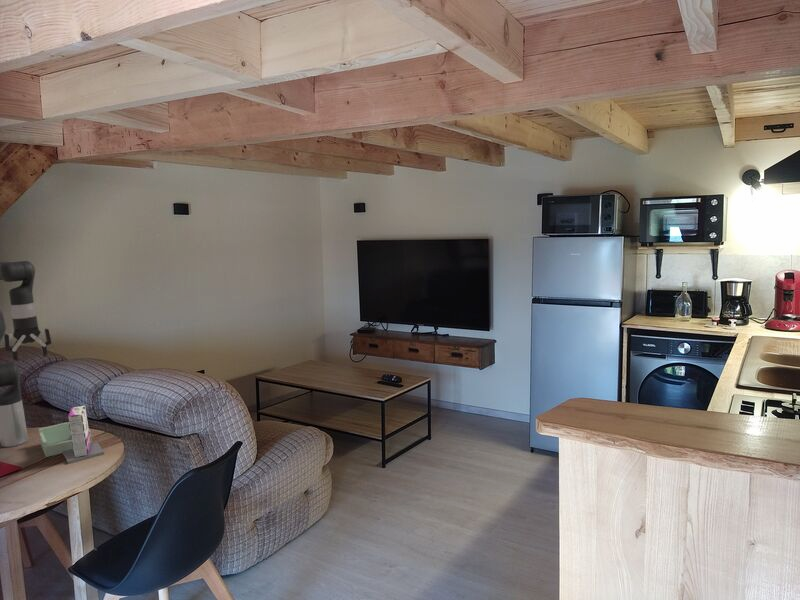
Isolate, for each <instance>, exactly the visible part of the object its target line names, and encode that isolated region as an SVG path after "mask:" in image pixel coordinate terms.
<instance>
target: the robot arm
mask: <svg viewBox="0 0 800 600" xmlns="http://www.w3.org/2000/svg"><path fill="white" fill-rule="evenodd" d="M35 275H36V268H35V266H34V264H33V263H32V262H31V261H28V260H22V261H21V260H20V261H0V281H3V282H6V283H11V282H20V281H21V282H22V283H20V285H19V286H15V287H14V288H11V289H10V290H9V291H8V293H9V300H10V313H11V314H10V315H11V318H12V326H13V333H6V329H7V328H6V324H5V317H4V314H3V311H2V310H1V309H0V342H1V341H2V340H3V338H4V349H5V350H6V351H7V352H8V351H9V352H11V354H12V359H13V361H8V362H1V363H0V388H2V387H3V388H4V387H7V386H8V387H7V388H6V389H5V390H3V391H2V392H0V446H1V447H3V448H8V447H9V448H10V447H15V446H19V445H22V444H25V443H26V442H27V441H29V437H28V429H27V424H26V417H25V411H24V404H23V403H24V402H23V398H22V390H21V381H20V371H19V367H18V365H17V362H19V358H18V349H19V347H20V345H21V344H23V345H25V344H28V343H30V344H31V343H35V342H37V343H38V344H39V345H40V347H41V354H42V357H44V358H45V357H46V356H47V355H48V351H47V350H48V348H47V347H48V346H49V345H51V344H52V338H51V333H50V329H48V328H47V327H46V328H44V329H39V325H38V324H39V322H38V317H37V311H36V305H35V302H34V301H35V300H34V296H33V295H34V294H33V288H34V281H35V277H36V276H35ZM41 333H42V335H44V336H45V339H46V341H45V342H44V341H43V340H41V339H40V338H39V336H40V335H41ZM12 338H14V339H15V340H16V341H15V342H14V344H13V345H12V347H11V346H10V340H12Z"/></svg>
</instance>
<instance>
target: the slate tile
mask: <svg viewBox="0 0 800 600" xmlns="http://www.w3.org/2000/svg"><path fill="white" fill-rule="evenodd" d="M62 454H63V456H64V459H65V460H66V463H67V465H69V464H72V463H76V462H81V461H83V460H84V459H85V460H88V459H91V457H92V458H95V456H96V457H99V456H102V455H105V451H104V450H103V447H102V448H101V446H100V444H99V443H98V442H94V443H93V444H91V447H90V450H89V454H88V455H87V456H82V457H77V458H74V452H73V449H70V450H66V451H63V453H62Z"/></svg>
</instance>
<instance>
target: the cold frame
mask: <svg viewBox="0 0 800 600" xmlns="http://www.w3.org/2000/svg"><path fill="white" fill-rule="evenodd" d="M38 434H39V439H40V440H39V441H40V446H41V449H42V451H43V453H44V457H45V458H47V457H52V456H56V455H60V454H63V451H66V450H70V449H73V445H72V439H71V433H70V427H69V421H67V422H63V423H58V424H54V425H48V426H45V427H40V428H38ZM89 434H90V441H91V444H93V435H92V431H91V429H90V428H89Z"/></svg>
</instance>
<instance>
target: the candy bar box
mask: <svg viewBox="0 0 800 600" xmlns="http://www.w3.org/2000/svg"><path fill="white" fill-rule="evenodd" d="M86 408H87V407H86V405H79V406H72V407H71V409H70V412H69V414H68V416H67V418H68V419H67V420H68V422H69V427H70V433H71V439H70V440H72V445H73V452H74V458H77V457H82V456H87V455H88V454H89V450H90V447H91V441H90V434H89V429H90V427H89V423H88V416H87V409H86Z"/></svg>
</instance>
